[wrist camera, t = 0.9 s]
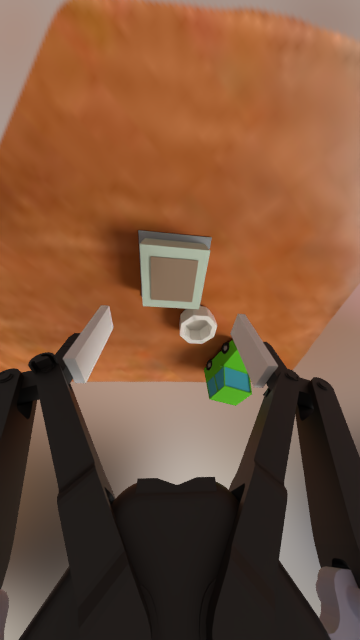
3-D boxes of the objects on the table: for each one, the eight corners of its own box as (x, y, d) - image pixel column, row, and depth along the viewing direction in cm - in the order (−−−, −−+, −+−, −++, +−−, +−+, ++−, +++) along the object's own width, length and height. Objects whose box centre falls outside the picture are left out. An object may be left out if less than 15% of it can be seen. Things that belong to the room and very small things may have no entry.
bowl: (178, 331, 38) (178, 342, 35) (181, 304, 34) (182, 314, 31) (208, 332, 39) (211, 344, 36) (215, 306, 35) (219, 316, 31)
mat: (142, 296, 33) (141, 297, 32) (138, 230, 26) (138, 230, 25) (199, 300, 34) (199, 300, 33) (211, 237, 27) (211, 237, 26)
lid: (146, 293, 32) (142, 306, 28) (144, 237, 26) (139, 244, 22) (195, 296, 33) (199, 310, 28) (204, 243, 27) (210, 251, 23)
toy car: (258, 346, 43) (278, 379, 35) (228, 373, 49) (238, 406, 41) (227, 333, 40) (241, 366, 32) (200, 364, 46) (205, 398, 38)
